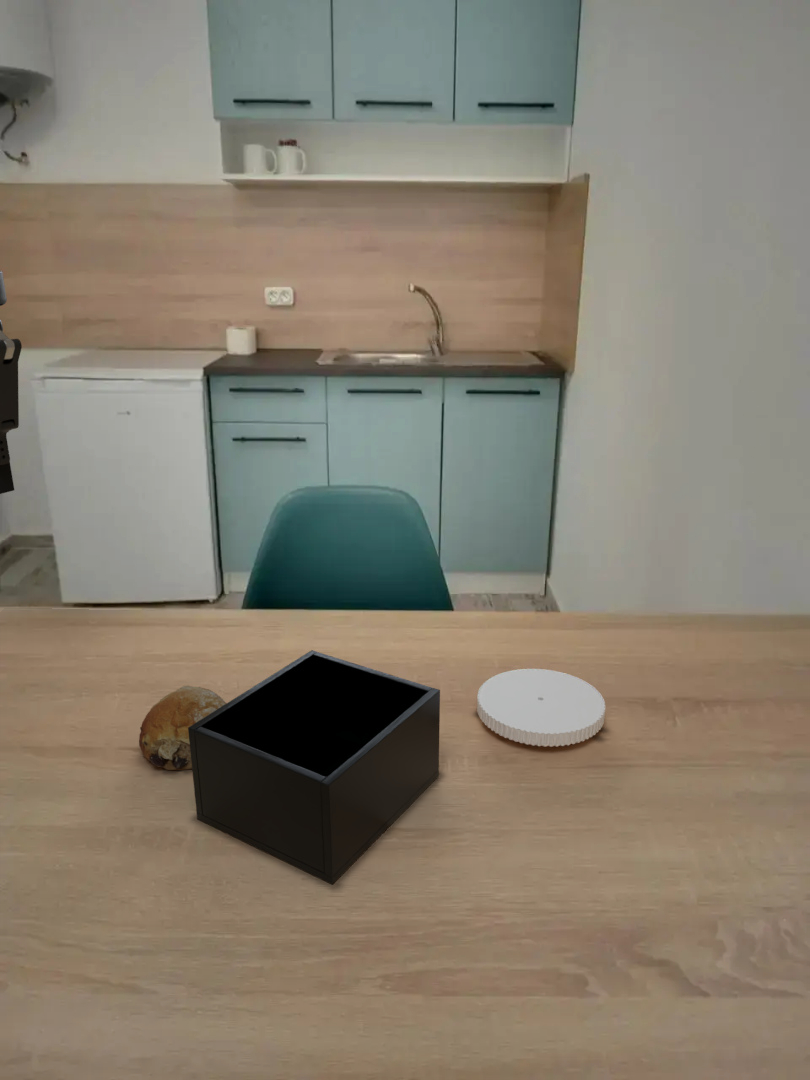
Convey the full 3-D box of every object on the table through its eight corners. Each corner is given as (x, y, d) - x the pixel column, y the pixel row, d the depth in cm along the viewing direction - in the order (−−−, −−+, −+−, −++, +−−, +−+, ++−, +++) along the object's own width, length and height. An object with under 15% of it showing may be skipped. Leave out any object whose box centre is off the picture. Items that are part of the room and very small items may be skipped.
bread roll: (246, 779, 88) (268, 707, 88) (167, 784, 80) (191, 705, 80) (191, 744, 94) (211, 676, 94) (112, 746, 86) (134, 672, 86)
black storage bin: (196, 819, 76) (187, 727, 73) (315, 730, 90) (311, 649, 87) (332, 885, 69) (328, 785, 65) (438, 776, 83) (440, 689, 79)
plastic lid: (463, 742, 88) (464, 721, 87) (490, 679, 101) (491, 661, 100) (597, 765, 84) (599, 743, 84) (608, 697, 97) (610, 678, 96)
